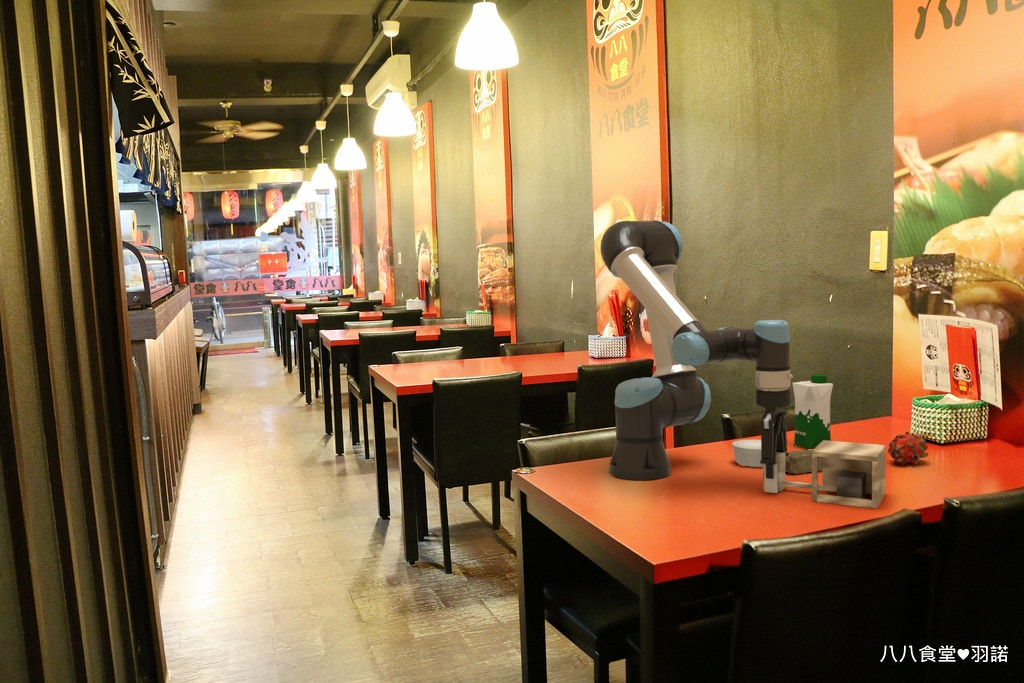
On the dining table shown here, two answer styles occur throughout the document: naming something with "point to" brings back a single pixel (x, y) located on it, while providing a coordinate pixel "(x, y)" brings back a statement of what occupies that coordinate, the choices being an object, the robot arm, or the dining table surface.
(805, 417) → the milk carton
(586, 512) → the dining table surface
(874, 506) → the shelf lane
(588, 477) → the dining table surface
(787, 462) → the stone block
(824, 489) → the tethered block
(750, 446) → the ramekin
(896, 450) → the dragon fruit
